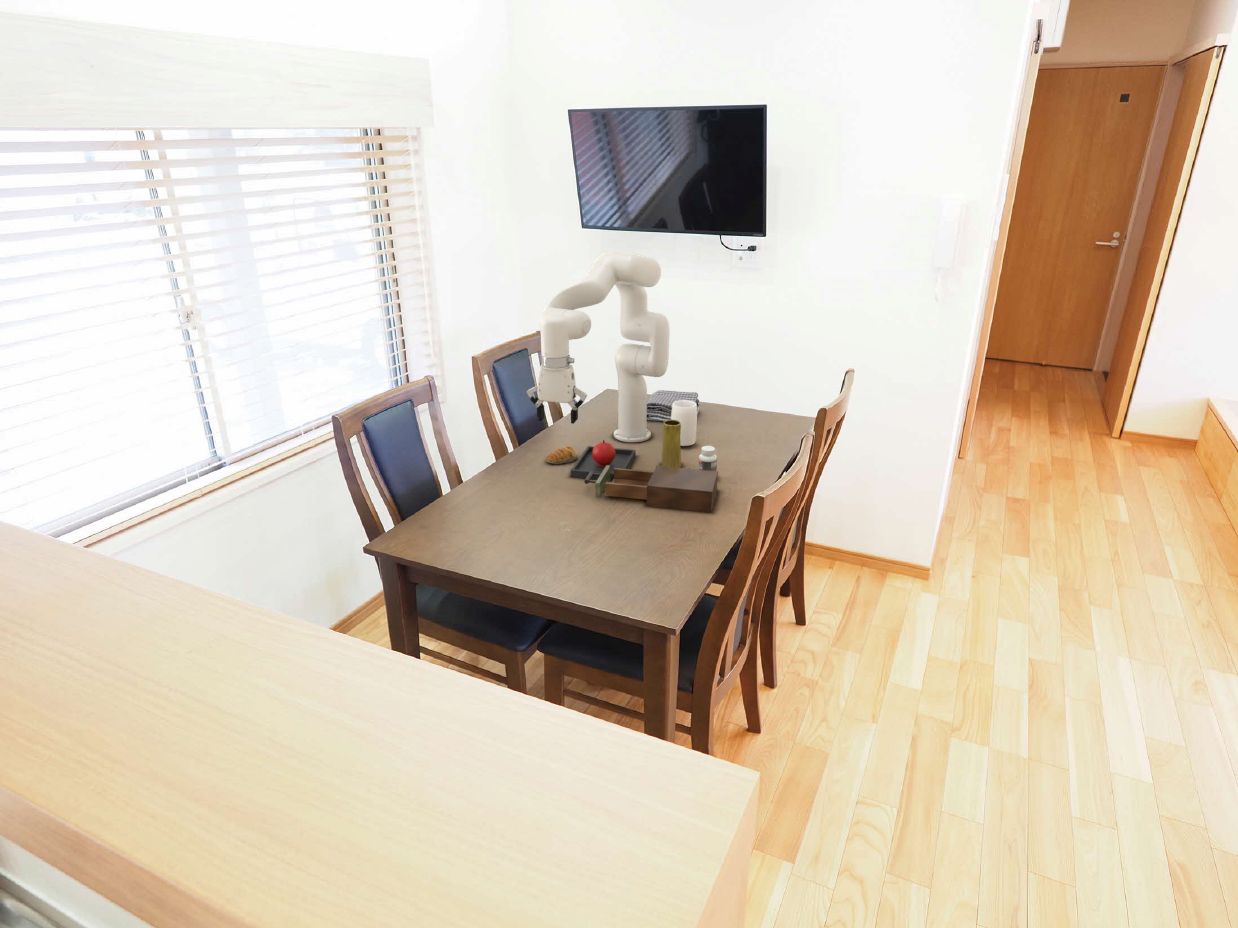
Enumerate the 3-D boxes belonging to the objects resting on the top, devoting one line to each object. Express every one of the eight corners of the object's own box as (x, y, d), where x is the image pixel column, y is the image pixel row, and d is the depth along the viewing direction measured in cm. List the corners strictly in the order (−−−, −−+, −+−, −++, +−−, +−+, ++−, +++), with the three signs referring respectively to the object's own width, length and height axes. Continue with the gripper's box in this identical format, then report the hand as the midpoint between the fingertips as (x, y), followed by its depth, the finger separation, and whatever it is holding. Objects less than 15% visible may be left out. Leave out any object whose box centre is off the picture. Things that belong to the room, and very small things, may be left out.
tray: (588, 452, 252) (587, 445, 251) (635, 456, 249) (635, 449, 248) (570, 477, 235) (570, 470, 234) (621, 481, 231) (621, 474, 230)
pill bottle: (694, 479, 233) (695, 448, 229) (704, 473, 237) (705, 443, 233) (709, 483, 230) (710, 453, 226) (719, 478, 233) (721, 447, 230)
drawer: (581, 495, 221) (580, 481, 219) (592, 477, 232) (592, 463, 230) (653, 502, 216) (654, 488, 215) (662, 484, 228) (662, 470, 226)
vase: (675, 471, 238) (676, 427, 232) (657, 467, 241) (658, 423, 235) (684, 464, 243) (685, 421, 237) (667, 460, 246) (668, 417, 240)
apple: (595, 458, 245) (595, 435, 242) (618, 460, 244) (617, 436, 241) (589, 467, 239) (589, 443, 236) (612, 470, 237) (612, 445, 234)
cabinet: (646, 506, 217) (646, 485, 214) (655, 485, 229) (656, 465, 226) (711, 512, 213) (712, 491, 210) (716, 491, 225) (717, 471, 223)
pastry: (553, 467, 241) (553, 456, 240) (541, 461, 246) (541, 449, 244) (578, 460, 246) (578, 448, 245) (566, 453, 251) (565, 442, 250)
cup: (701, 444, 258) (703, 403, 252) (685, 451, 252) (686, 410, 247) (681, 438, 263) (682, 397, 258) (665, 445, 258) (665, 404, 252)
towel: (652, 407, 292) (652, 387, 289) (701, 412, 287) (702, 391, 284) (642, 421, 278) (642, 400, 275) (693, 426, 274) (693, 404, 271)
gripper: (589, 359, 215) (590, 418, 222) (529, 355, 219) (532, 414, 226) (582, 367, 208) (583, 427, 215) (520, 363, 212) (523, 423, 219)
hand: (557, 420), depth 220 cm, fingers open, 9 cm apart
